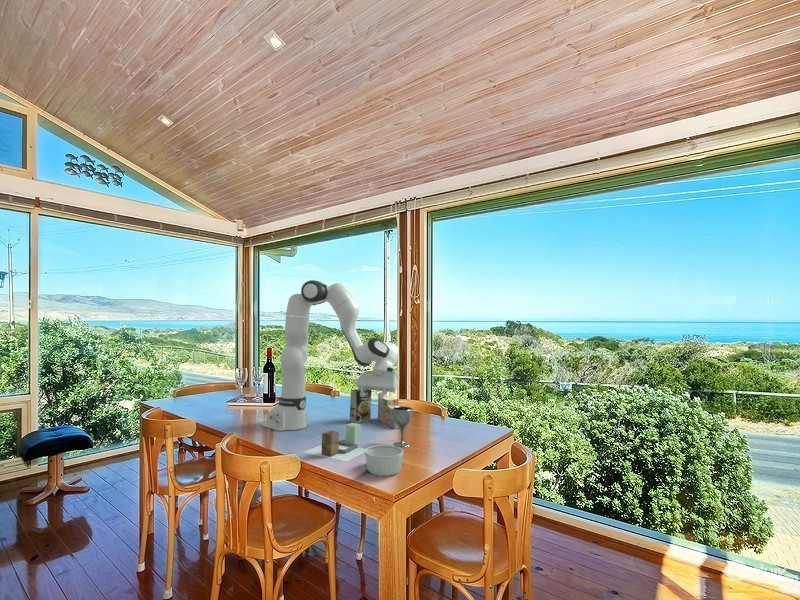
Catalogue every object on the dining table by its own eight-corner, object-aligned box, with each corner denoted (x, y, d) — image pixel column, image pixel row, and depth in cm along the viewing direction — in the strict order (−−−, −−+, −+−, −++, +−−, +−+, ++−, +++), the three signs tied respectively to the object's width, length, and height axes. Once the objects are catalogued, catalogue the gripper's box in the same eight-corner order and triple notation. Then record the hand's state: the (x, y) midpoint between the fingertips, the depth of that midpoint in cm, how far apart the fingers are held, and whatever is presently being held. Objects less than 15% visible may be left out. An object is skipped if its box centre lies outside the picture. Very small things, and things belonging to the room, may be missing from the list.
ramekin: (384, 481, 131) (385, 459, 131) (356, 471, 139) (357, 450, 140) (410, 470, 141) (411, 450, 141) (382, 461, 149) (383, 442, 150)
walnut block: (321, 454, 151) (322, 433, 152) (328, 451, 155) (329, 430, 156) (331, 456, 149) (331, 434, 150) (338, 453, 153) (339, 431, 154)
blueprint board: (302, 455, 154) (302, 449, 154) (328, 444, 168) (328, 438, 168) (346, 465, 145) (346, 458, 145) (369, 452, 159) (370, 446, 159)
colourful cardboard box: (406, 428, 197) (406, 402, 198) (394, 429, 194) (394, 403, 195) (388, 418, 216) (388, 395, 217) (377, 419, 214) (377, 395, 214)
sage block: (345, 444, 169) (345, 425, 169) (351, 441, 173) (351, 422, 173) (354, 446, 167) (354, 426, 167) (360, 443, 171) (360, 424, 171)
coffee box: (356, 423, 203) (357, 391, 204) (349, 421, 208) (350, 389, 208) (371, 421, 209) (371, 389, 210) (363, 418, 214) (364, 387, 214)
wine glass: (393, 441, 175) (393, 406, 175) (411, 441, 174) (412, 406, 175) (392, 447, 167) (392, 410, 167) (411, 447, 166) (412, 410, 167)
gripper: (360, 367, 194) (348, 390, 185) (398, 369, 185) (387, 394, 176) (365, 375, 198) (353, 398, 189) (402, 378, 189) (392, 403, 180)
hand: (370, 396), depth 182 cm, fingers open, 8 cm apart
